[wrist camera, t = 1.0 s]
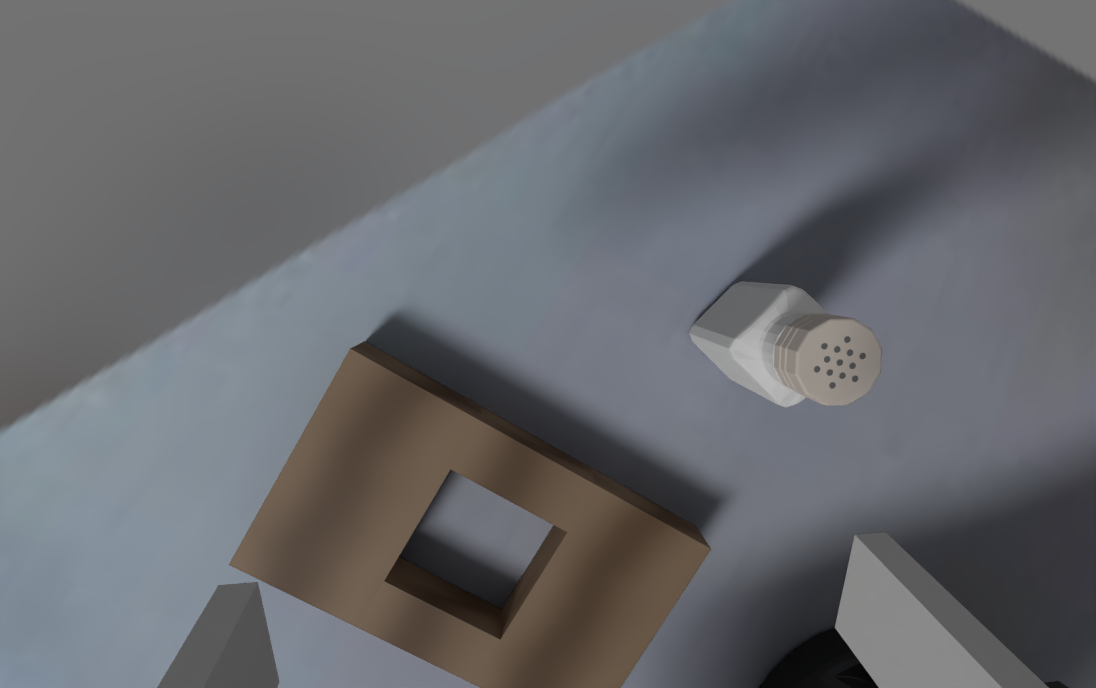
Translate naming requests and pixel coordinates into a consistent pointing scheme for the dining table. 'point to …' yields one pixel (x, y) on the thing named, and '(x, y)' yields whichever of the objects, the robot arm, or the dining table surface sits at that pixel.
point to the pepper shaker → (788, 345)
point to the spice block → (402, 499)
